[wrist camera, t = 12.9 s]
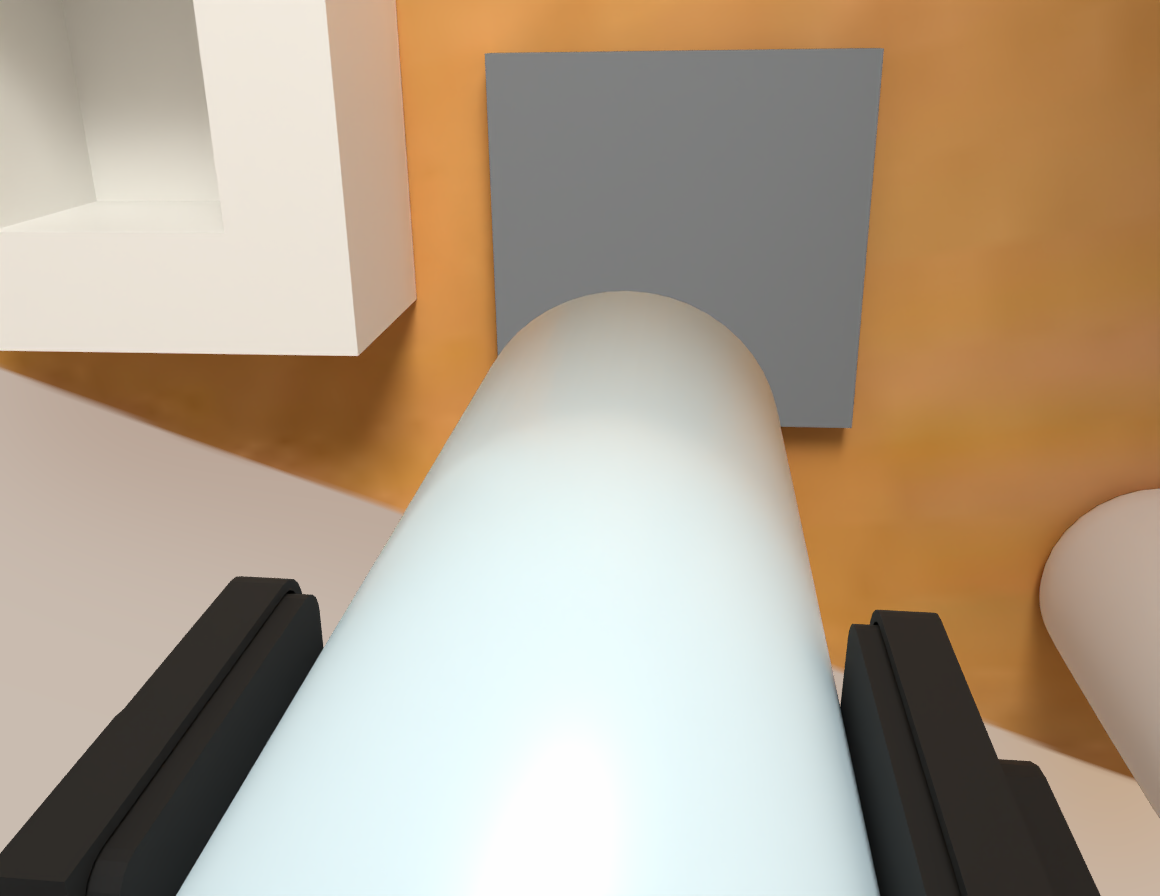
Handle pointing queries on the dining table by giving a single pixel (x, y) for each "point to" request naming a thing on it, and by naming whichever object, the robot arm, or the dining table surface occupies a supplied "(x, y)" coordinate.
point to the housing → (202, 176)
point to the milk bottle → (1113, 623)
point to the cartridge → (574, 652)
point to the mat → (694, 197)
